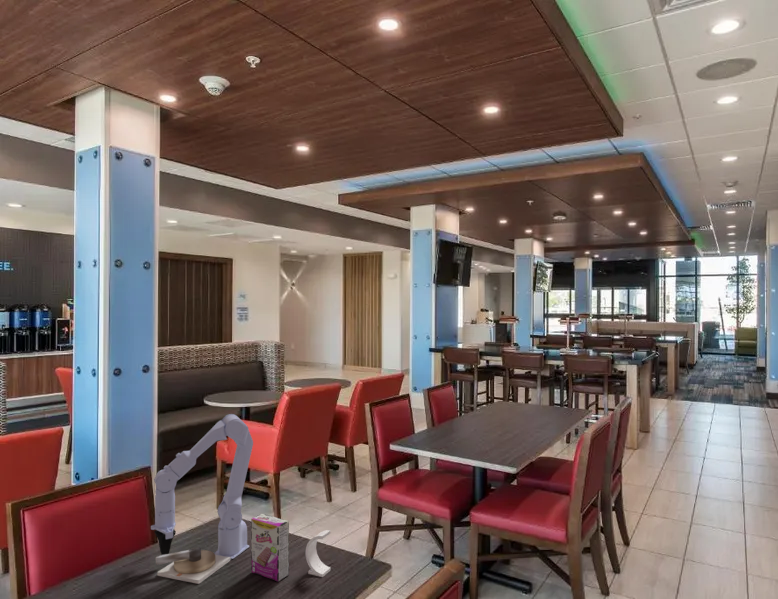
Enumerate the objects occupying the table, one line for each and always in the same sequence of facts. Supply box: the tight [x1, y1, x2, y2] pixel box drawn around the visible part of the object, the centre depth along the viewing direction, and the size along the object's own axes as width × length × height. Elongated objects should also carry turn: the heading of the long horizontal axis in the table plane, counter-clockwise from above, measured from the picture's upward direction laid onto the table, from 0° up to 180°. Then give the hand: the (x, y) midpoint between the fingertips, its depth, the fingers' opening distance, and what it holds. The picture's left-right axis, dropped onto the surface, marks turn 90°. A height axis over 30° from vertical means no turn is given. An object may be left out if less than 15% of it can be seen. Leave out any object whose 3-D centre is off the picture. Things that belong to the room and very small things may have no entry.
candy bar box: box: [250, 513, 290, 582], centre depth 160 cm, size 11×5×16 cm, turn 59°
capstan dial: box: [155, 546, 215, 574], centre depth 163 cm, size 17×12×4 cm
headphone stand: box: [305, 529, 332, 578], centre depth 161 cm, size 5×6×12 cm
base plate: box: [156, 555, 231, 585], centre depth 164 cm, size 15×15×1 cm
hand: (164, 553), depth 165 cm, fingers closed
